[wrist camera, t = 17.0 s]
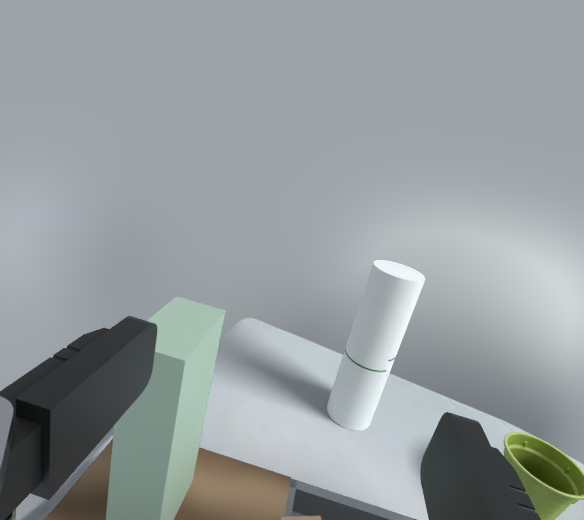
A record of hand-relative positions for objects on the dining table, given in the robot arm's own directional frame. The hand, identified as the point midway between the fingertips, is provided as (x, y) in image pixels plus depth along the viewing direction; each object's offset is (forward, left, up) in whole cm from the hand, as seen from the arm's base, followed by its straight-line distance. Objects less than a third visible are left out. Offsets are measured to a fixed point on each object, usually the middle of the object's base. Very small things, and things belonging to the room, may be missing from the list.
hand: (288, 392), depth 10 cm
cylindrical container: (-38, -18, -32) cm, 53 cm away
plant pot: (-46, +5, -32) cm, 56 cm away
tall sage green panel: (-4, -14, -25) cm, 29 cm away
